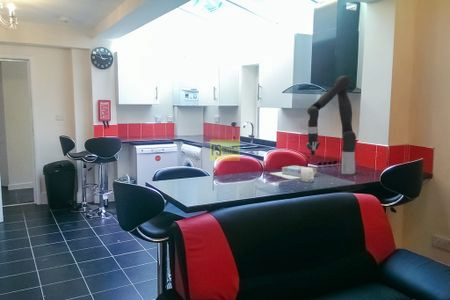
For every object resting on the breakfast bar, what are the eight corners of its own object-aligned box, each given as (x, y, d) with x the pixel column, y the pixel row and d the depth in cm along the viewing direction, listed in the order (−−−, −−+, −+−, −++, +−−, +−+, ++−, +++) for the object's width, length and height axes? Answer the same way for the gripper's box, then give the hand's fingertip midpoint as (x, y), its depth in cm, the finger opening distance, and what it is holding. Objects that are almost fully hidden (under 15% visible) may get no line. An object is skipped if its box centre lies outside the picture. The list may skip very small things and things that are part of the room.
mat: (292, 171, 295) (292, 171, 295) (313, 177, 272) (313, 176, 272) (269, 173, 285) (269, 173, 285) (289, 179, 262) (289, 178, 262)
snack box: (293, 172, 291) (281, 173, 281) (294, 164, 291) (281, 166, 281) (316, 175, 276) (304, 177, 266) (317, 168, 275) (305, 169, 265)
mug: (307, 179, 263) (307, 166, 262) (317, 182, 253) (317, 169, 252) (298, 180, 259) (298, 167, 258) (308, 183, 250) (308, 170, 249)
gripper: (309, 133, 277) (309, 156, 279) (322, 132, 283) (322, 155, 285) (302, 132, 284) (302, 155, 286) (316, 132, 290) (316, 154, 292)
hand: (312, 155), depth 286 cm, fingers closed
